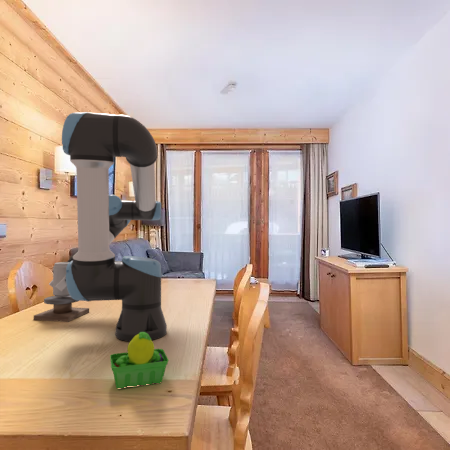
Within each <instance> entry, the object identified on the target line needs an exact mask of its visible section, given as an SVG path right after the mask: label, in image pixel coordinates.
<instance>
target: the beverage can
mask: <svg viewBox="0 0 450 450" xmlns="http://www.w3.org/2000/svg"><path fill="white" fill-rule="evenodd" d="M68 263H69V262H67V261H61V262H59V261H58V262H54V265H53V266H52V267H53V268H52V273H53V275H52V280H53V287H52V289H53V290H52V295H53V296H56V297H66V296H70V294H69V292H68V289H67V286H66V287H65V288H64V289H63V290H62V291H60V290H59V289H58V288H57V287H55V286H56V285H57V284H58V283H59V282H60V281H61V280H62V279H63V278H64V277H65V276H66V267H67V265H68Z"/></svg>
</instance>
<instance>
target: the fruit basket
mask: <svg viewBox="0 0 450 450" xmlns="http://www.w3.org/2000/svg"><path fill="white" fill-rule="evenodd" d="M109 359H110V368H111V371H112V372H113V377H114V382H115V386H116V389H117V388H124V387H127V386H137V385H146V384H151V385H153V384H152V383H159V384H161V383H160V382H162V383H163V379H164V376H165V375H164V374H165V371H166V368H167V365H168V362H169V358H168V356H167V354H166V352H165V351H164V349H162V348H155V344H154V342H153V340H151V338H150V336H149V334H147V333H146V332H140V333H139V334H137V335H136V336H135V337H134V338H133V339H132V340H131V341H129V343H128V345H127V352H120V353H112V354H110V356H109ZM146 386H147V385H146Z"/></svg>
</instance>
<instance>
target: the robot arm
mask: <svg viewBox="0 0 450 450" xmlns="http://www.w3.org/2000/svg"><path fill="white" fill-rule="evenodd" d="M155 141H156V140H155V139H154V137H153V135H152V134H151V132H150V131H149V129H148V128H147V127H146V126H145V125H144V124H143V123H141V121H139V120H138V119H135V118H134V117H132V116H129V115H126V114H111V113H110V114H109V113H99V112H98V113H97V112H88V111H84V112H72V113H70V114H68V115H67V116H66V118H65V120H64V123H63V126H62V132H61V144H62V150H63V153H64V154H65V155H68V156H69V159H70V163H72V165H74V166H75V170H76V171H75V172H76V206H77V207H76V211H77V243H78V244H77V247H78V249H77V251H76V252H75V253H74V254H73V255H72V256H71V257H70V258H69V259H68V260H67V261H66V262H69V263H68V265H67V267H66V276H65V277H64V278H63V279H62V280H61V281H60V282H59V283H58V284H57V285H56V286H55V287H57V288H58V289H59V290H60V291H62V290H63V289H64V288H65V287H66V286H67V289H68V292H69V294H70V296H71V297H72V298H73V299H74V300H77V301H78V302H81V301H82V302H96V301H97V302H99V301H100V302H101V301H121V311H120V314H119V318H118V320H117V323H116V325H115V337H116V338H117V340H121V341H124V342H130V341H131V340H132V339H133V338H134V337H135V336H136V335H137V334H139V333H140V332H146V333H147V334H149V336H150V338H151V340H152V341H154V340H157V339H160V338H162V337H164V336H165V335H166V334H167V332H168V331H167V330H168V329H167V327H168V326H167V322H166V319H165V316H164V312H163V310H162V277H163V274H162V264H161V262H160V261H159V260H157V259H154V258H149V257H143V256H135V255H134V256H133V255H125V256H123V257H122V259H121V260H116V254H115V253H114V252H113V251H112V250H111V249H110V244H112V243H113V241H114V240H115V239H116V238H117V237H118V236H119V234H121V233H122V232H123V230H124V229H126V228H127V227H128V226H129V224H130V223H131V221H160V220H161V218H162V202H161V201H159V200H158V201H157V199H156V197H157V196H156V176H155V175H156V173H155V172H156V171H155V169H156V168H155V163H156V162H157V159H158V148H157V147H158V146H157V143H156V142H155ZM115 157H117V158H125V159H126V161H127V163H128V164H129V165H130V173H131V181H132V189H133V195H134V200H122V199H121V198H120V197H119V196H118V195H115V194H110V187H109V186H110V180H109V179H110V178H109V177H110V175H109V174H110V172H109V169H110V168H111V167H112V166H113V165H114V164H115ZM48 285H49V286H50V287H52V288H53V279H52V280H51V281H50V282H49V283H48Z"/></svg>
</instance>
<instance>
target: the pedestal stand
mask: <svg viewBox="0 0 450 450" xmlns="http://www.w3.org/2000/svg"><path fill="white" fill-rule="evenodd" d="M77 302H79V301H77V300H74V299H73V298H72V297H71V296H66V297H56V296H55V295H53V296H48V297H45V298H43V303H44V304H46V305H52V306H53V307H52V308H50V309H47V310H45V311H43V312H42V311H41V312H40V313H36V314H33V320H34V321H45V322H46V321H48V322H64V323H65V322H66V323H69V322H70V321H73V320H75V319H77V318H80V317H82V316H83V315H85V314H88V313H90V308H89V307H73V304H74V303H77Z"/></svg>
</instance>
